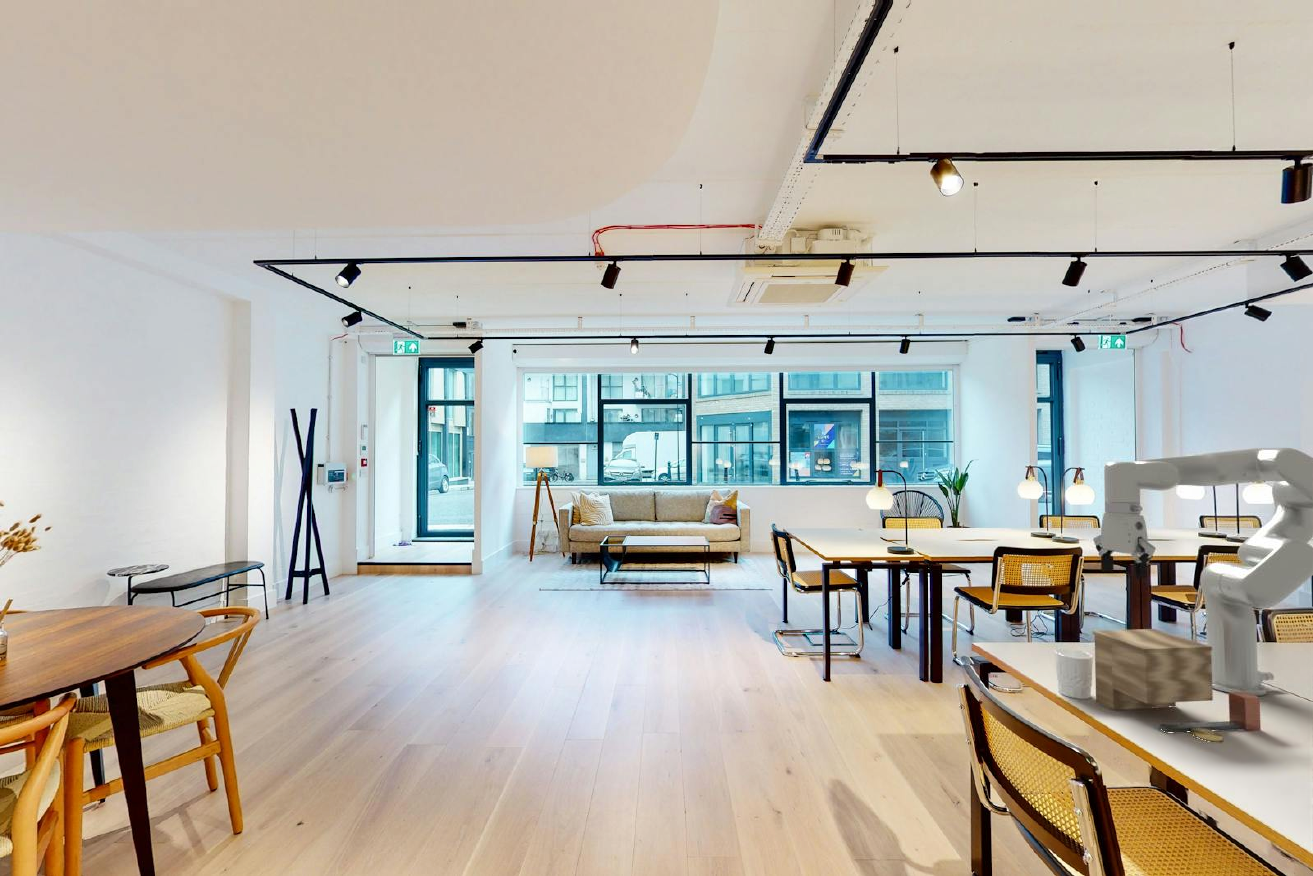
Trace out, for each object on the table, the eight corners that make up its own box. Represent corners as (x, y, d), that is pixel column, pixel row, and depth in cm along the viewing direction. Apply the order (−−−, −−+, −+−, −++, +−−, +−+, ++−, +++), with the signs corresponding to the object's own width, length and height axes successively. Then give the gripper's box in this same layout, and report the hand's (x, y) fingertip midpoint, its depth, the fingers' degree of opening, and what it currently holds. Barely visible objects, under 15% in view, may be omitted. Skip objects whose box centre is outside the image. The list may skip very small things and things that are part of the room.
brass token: (1205, 732, 135) (1205, 727, 135) (1229, 743, 130) (1229, 737, 130) (1184, 734, 134) (1184, 728, 134) (1207, 744, 129) (1207, 739, 129)
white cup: (1099, 701, 151) (1099, 659, 151) (1063, 699, 153) (1062, 657, 153) (1084, 689, 159) (1083, 649, 159) (1050, 687, 160) (1049, 647, 161)
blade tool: (1243, 723, 139) (1243, 691, 139) (1260, 730, 135) (1259, 697, 135) (1155, 727, 137) (1155, 695, 137) (1170, 734, 133) (1169, 701, 133)
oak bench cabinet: (1156, 698, 153) (1154, 628, 153) (1214, 723, 139) (1212, 646, 139) (1093, 701, 151) (1092, 630, 152) (1146, 726, 137) (1144, 649, 138)
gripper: (1166, 511, 156) (1167, 581, 156) (1106, 506, 173) (1107, 568, 173) (1139, 512, 155) (1140, 581, 155) (1082, 506, 172) (1083, 569, 172)
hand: (1123, 574), depth 164 cm, fingers open, 9 cm apart
